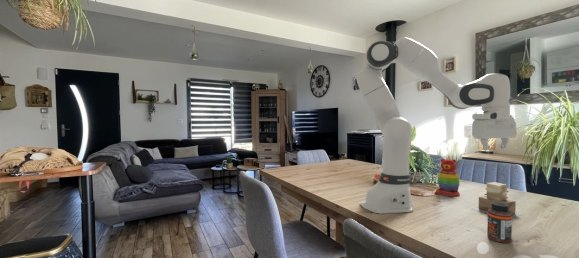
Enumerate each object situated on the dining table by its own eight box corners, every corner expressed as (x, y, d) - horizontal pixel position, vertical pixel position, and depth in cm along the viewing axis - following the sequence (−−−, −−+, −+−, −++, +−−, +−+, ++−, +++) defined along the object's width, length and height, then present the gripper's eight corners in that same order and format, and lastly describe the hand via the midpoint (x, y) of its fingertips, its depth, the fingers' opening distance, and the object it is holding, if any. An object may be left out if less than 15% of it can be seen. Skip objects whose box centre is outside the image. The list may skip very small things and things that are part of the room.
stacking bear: (432, 193, 133) (433, 159, 132) (439, 190, 139) (439, 157, 139) (457, 198, 125) (457, 161, 124) (463, 194, 131) (463, 159, 131)
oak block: (498, 201, 100) (498, 185, 100) (486, 197, 104) (486, 183, 104) (506, 199, 101) (506, 184, 101) (494, 196, 106) (494, 182, 105)
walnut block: (502, 216, 98) (503, 203, 97) (478, 208, 106) (478, 196, 106) (515, 214, 100) (515, 201, 100) (490, 206, 108) (490, 195, 108)
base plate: (502, 222, 95) (502, 218, 95) (470, 211, 107) (470, 208, 107) (524, 217, 99) (524, 214, 99) (491, 207, 111) (491, 205, 110)
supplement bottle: (482, 235, 84) (482, 201, 84) (499, 234, 85) (499, 200, 85) (498, 244, 78) (499, 207, 78) (516, 243, 79) (517, 206, 79)
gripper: (504, 115, 110) (504, 147, 110) (469, 115, 103) (468, 149, 104) (522, 114, 104) (521, 149, 104) (485, 114, 97) (484, 151, 98)
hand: (494, 149), depth 104 cm, fingers open, 8 cm apart
